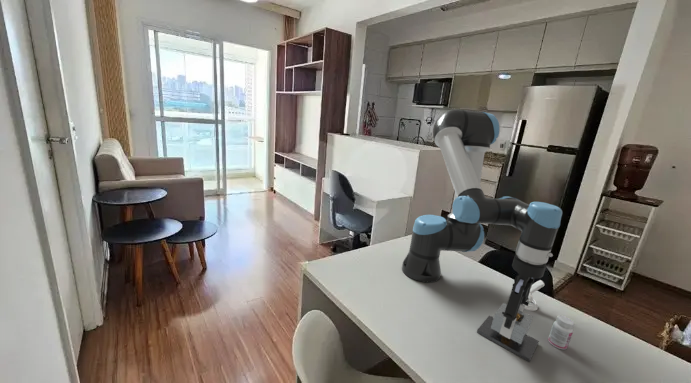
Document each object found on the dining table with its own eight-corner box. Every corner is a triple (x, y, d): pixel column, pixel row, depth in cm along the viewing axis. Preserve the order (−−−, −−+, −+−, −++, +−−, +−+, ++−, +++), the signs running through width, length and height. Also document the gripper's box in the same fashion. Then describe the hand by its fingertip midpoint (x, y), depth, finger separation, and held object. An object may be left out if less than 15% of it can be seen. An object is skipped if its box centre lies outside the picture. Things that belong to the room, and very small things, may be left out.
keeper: (476, 332, 88) (482, 312, 86) (488, 318, 95) (493, 299, 93) (529, 362, 78) (536, 340, 77) (537, 343, 86) (544, 323, 84)
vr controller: (561, 300, 100) (551, 291, 97) (530, 319, 104) (520, 311, 101) (546, 283, 106) (536, 275, 104) (518, 302, 110) (508, 294, 108)
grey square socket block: (490, 328, 86) (494, 313, 84) (499, 316, 91) (503, 302, 90) (521, 344, 80) (525, 329, 79) (528, 331, 86) (532, 316, 85)
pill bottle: (567, 352, 83) (577, 328, 81) (548, 344, 86) (556, 320, 83) (566, 342, 87) (575, 318, 85) (547, 335, 90) (555, 311, 87)
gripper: (537, 277, 70) (513, 355, 76) (554, 253, 85) (532, 320, 91) (504, 264, 75) (483, 338, 81) (525, 244, 90) (506, 307, 96)
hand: (509, 328), depth 86 cm, fingers closed on grey square socket block, 8 cm apart
